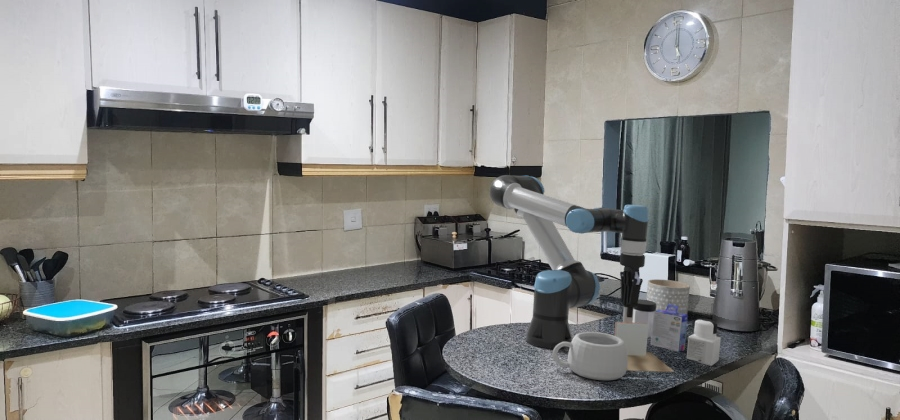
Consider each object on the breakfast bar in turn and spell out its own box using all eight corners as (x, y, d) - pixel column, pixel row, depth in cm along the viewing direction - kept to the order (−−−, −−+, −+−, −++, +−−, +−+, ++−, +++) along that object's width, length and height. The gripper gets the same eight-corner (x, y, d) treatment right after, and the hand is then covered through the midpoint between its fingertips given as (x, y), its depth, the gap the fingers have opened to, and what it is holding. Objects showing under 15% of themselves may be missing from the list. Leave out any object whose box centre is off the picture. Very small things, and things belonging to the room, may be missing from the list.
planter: (689, 320, 243) (692, 289, 242) (646, 315, 247) (649, 284, 246) (684, 311, 259) (687, 282, 258) (644, 306, 263) (646, 277, 262)
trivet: (621, 372, 176) (621, 370, 176) (601, 352, 194) (601, 350, 194) (674, 373, 177) (674, 371, 177) (649, 353, 195) (650, 352, 195)
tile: (614, 354, 190) (617, 323, 189) (612, 352, 192) (615, 321, 191) (645, 355, 191) (648, 324, 190) (643, 353, 192) (646, 323, 192)
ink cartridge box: (685, 350, 201) (689, 307, 200) (679, 353, 197) (683, 310, 196) (656, 343, 208) (660, 301, 207) (649, 346, 204) (653, 303, 202)
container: (693, 355, 197) (697, 315, 196) (718, 361, 192) (722, 320, 191) (685, 360, 191) (689, 319, 190) (711, 366, 186) (715, 325, 185)
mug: (616, 363, 183) (619, 331, 182) (635, 384, 166) (637, 348, 165) (545, 360, 182) (548, 328, 181) (557, 381, 165) (559, 345, 164)
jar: (642, 339, 211) (645, 305, 210) (624, 333, 218) (627, 300, 217) (659, 336, 216) (662, 303, 215) (640, 330, 223) (643, 298, 222)
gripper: (652, 257, 186) (646, 332, 188) (636, 251, 199) (630, 321, 201) (629, 256, 186) (623, 331, 188) (614, 250, 199) (608, 320, 201)
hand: (627, 326), depth 194 cm, fingers closed
